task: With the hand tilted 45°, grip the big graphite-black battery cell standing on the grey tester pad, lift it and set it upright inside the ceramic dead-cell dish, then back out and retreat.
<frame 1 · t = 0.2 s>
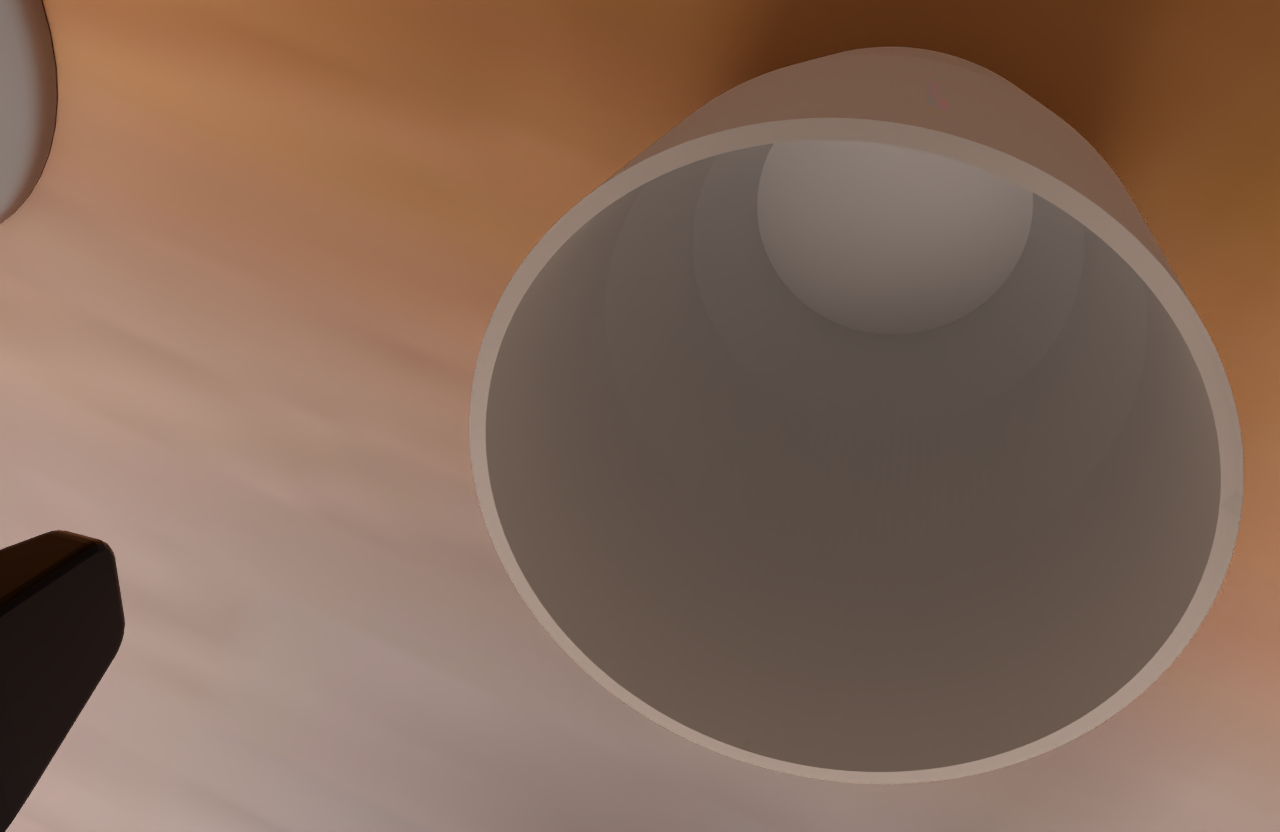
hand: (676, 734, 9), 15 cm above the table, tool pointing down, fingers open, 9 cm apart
cup: (894, 202, 21), on the table
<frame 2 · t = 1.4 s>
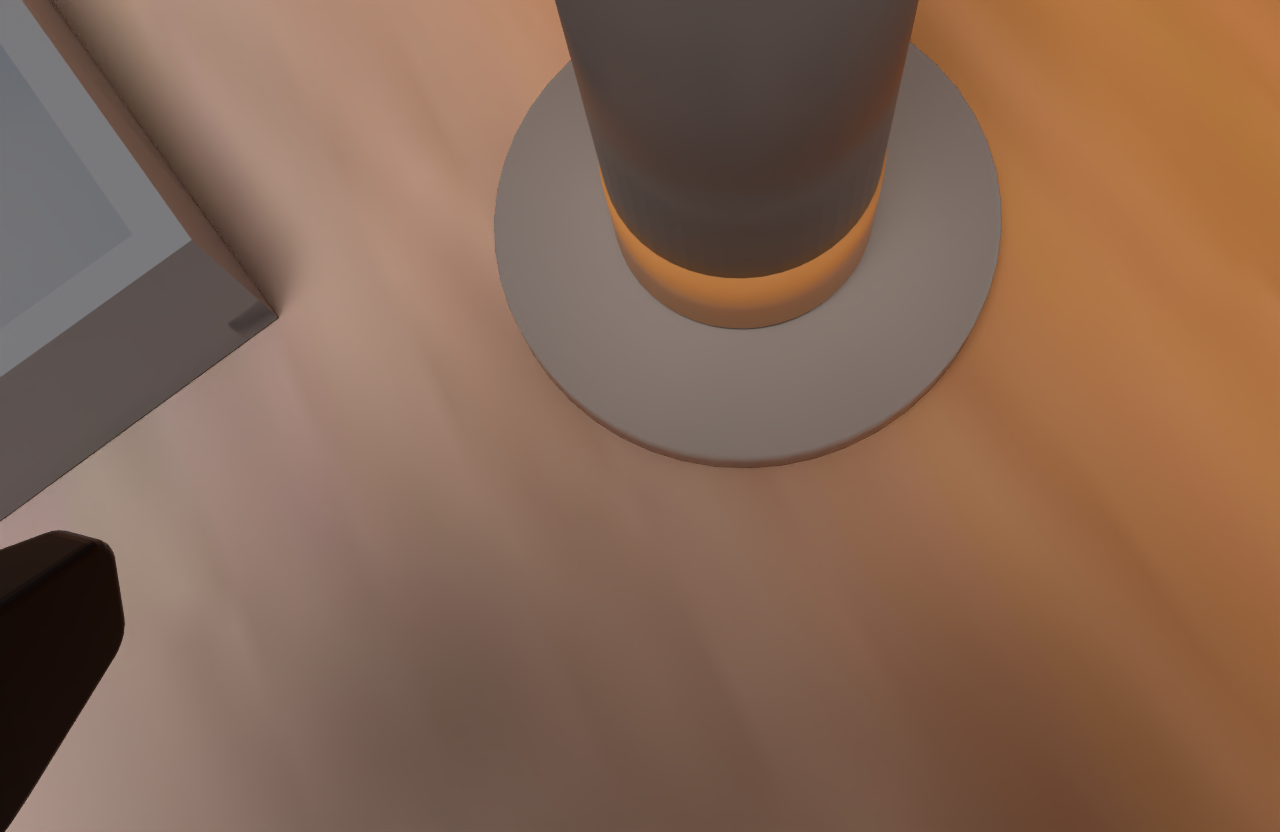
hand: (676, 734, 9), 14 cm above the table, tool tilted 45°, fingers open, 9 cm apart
tester pad: (743, 231, 25), on the table
battery cell: (742, 210, 24), point 1 cm above the table, touching tester pad
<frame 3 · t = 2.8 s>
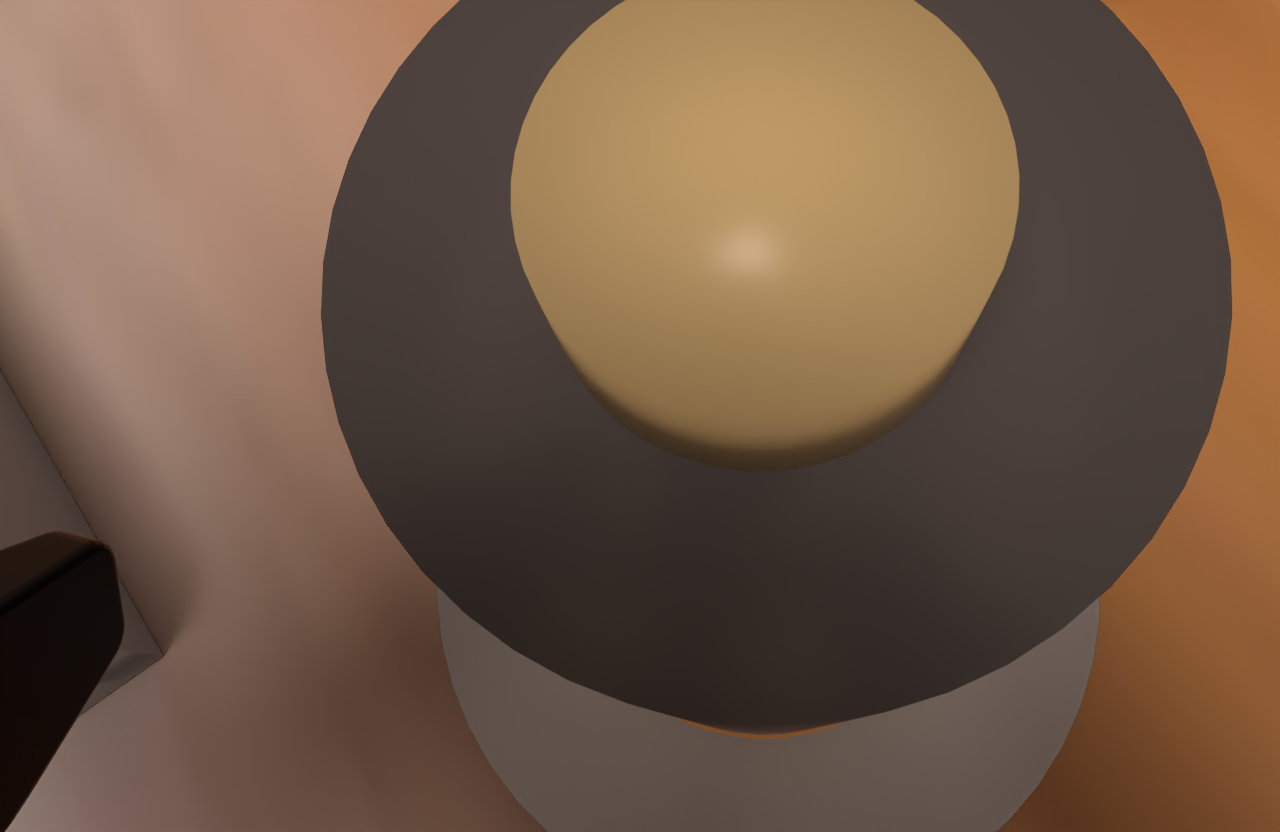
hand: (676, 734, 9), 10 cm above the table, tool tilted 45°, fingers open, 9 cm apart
tester pad: (759, 574, 19), on the table
battery cell: (759, 565, 18), point 1 cm above the table, touching tester pad
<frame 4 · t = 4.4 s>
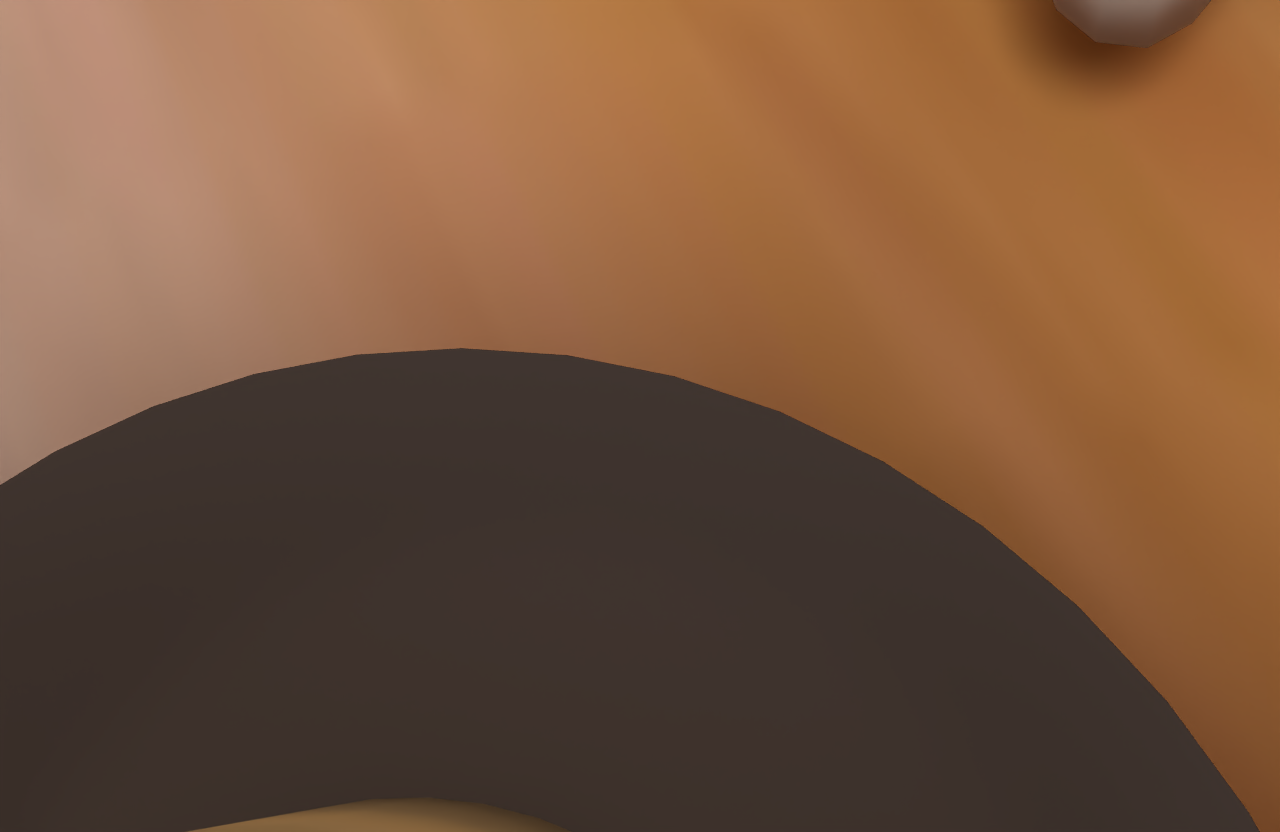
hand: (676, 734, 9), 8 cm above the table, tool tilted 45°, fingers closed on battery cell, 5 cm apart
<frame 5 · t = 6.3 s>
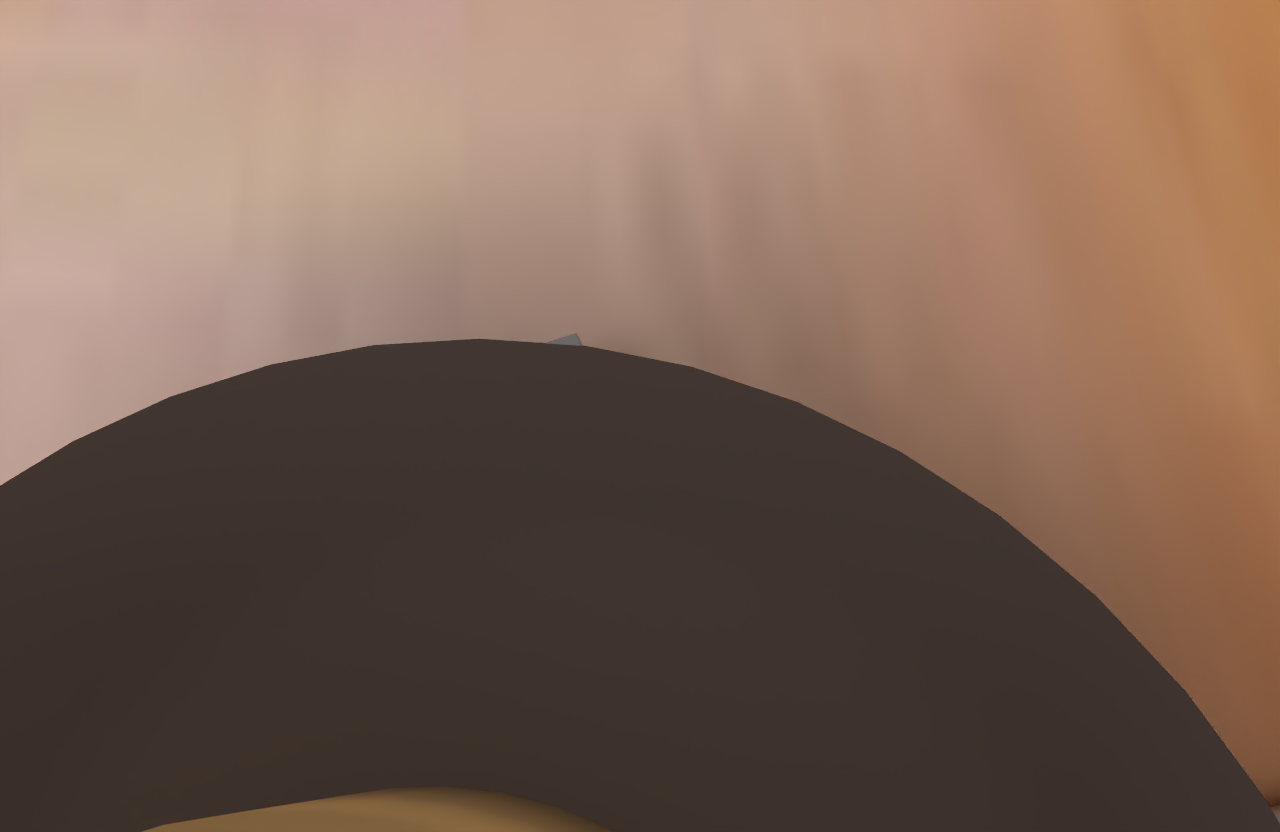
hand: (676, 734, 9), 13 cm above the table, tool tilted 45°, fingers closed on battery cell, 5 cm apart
when the fingers open (9 cm above the table, at t = 8.1 s): battery cell drops 1 cm, resting on dead-cell dish.
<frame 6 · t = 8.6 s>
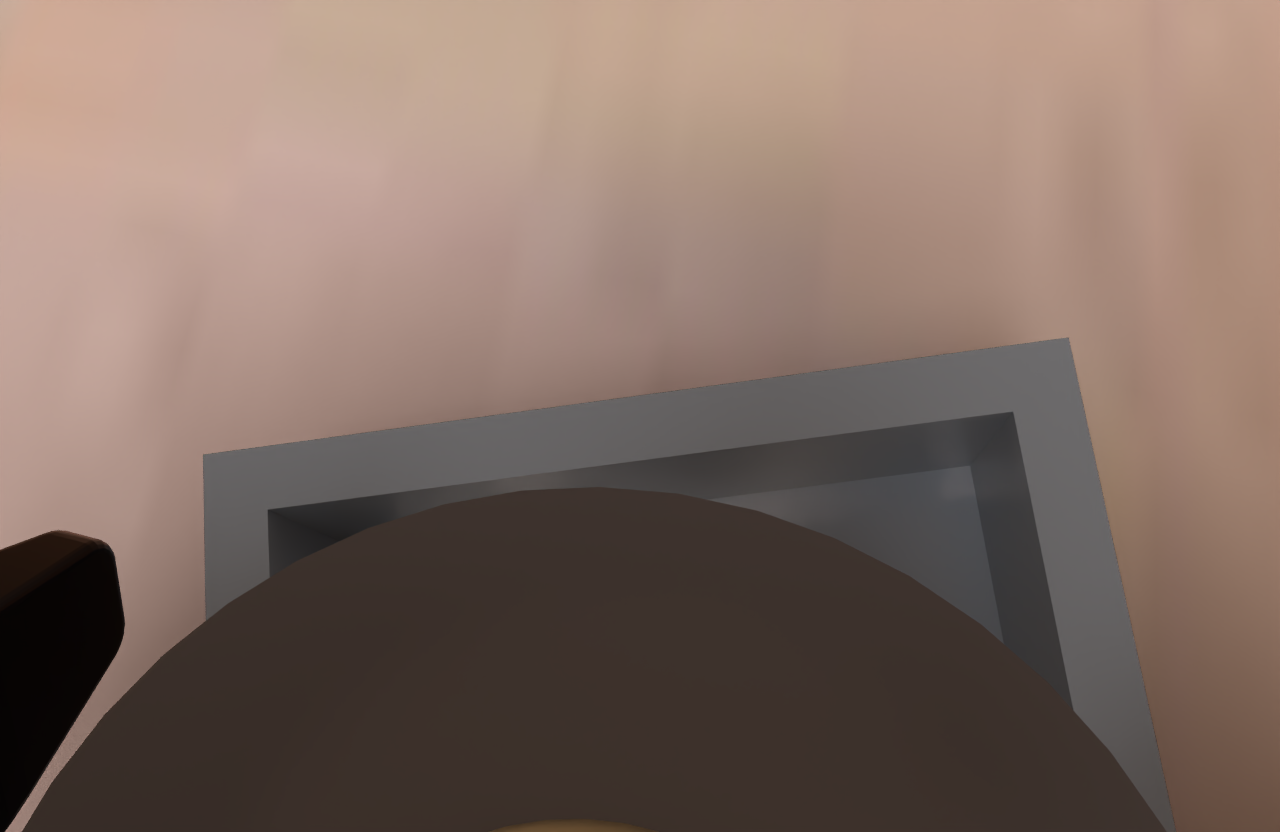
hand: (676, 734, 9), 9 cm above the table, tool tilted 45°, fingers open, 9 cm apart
dead-cell dish: (696, 829, 17), on the table
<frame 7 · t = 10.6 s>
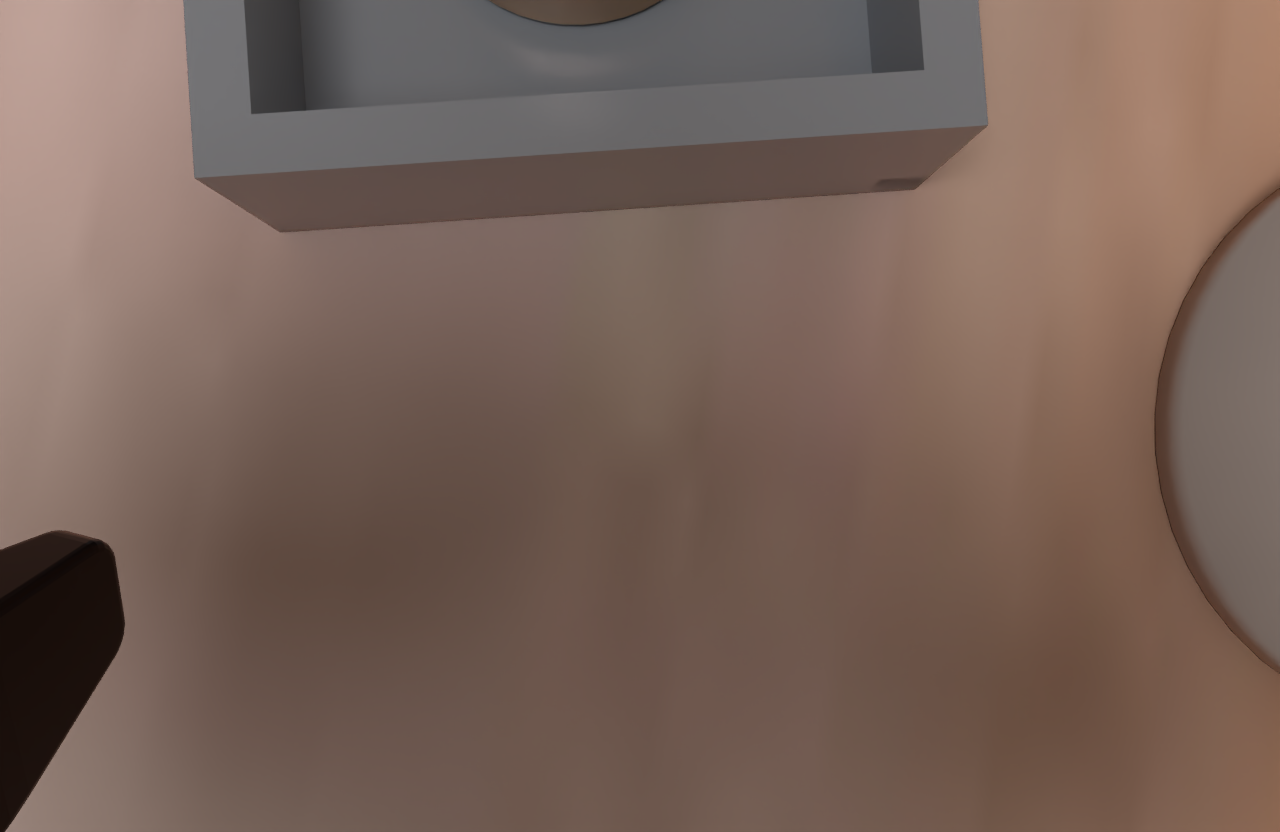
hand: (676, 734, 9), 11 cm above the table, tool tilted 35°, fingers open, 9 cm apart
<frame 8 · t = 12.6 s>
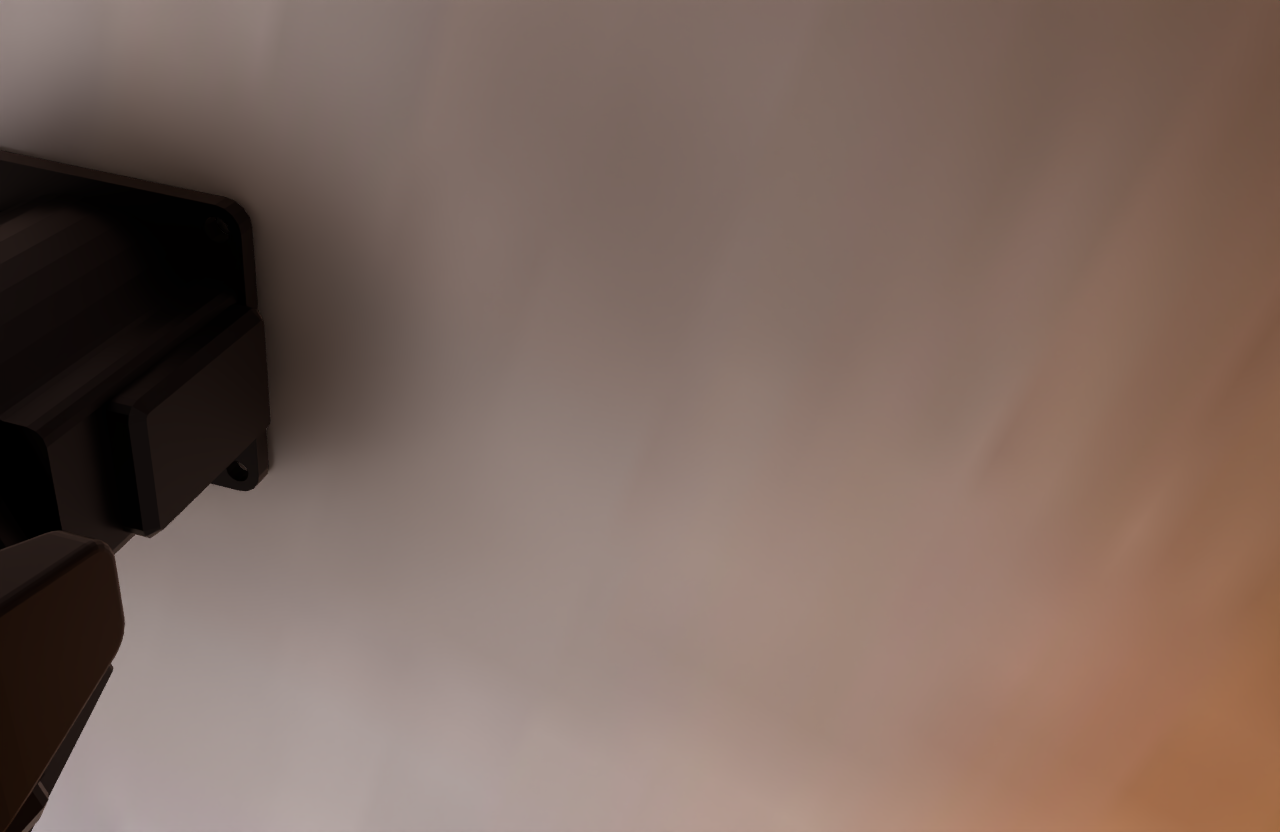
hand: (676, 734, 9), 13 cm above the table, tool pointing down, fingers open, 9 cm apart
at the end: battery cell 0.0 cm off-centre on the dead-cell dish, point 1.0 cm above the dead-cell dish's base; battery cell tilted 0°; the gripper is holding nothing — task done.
